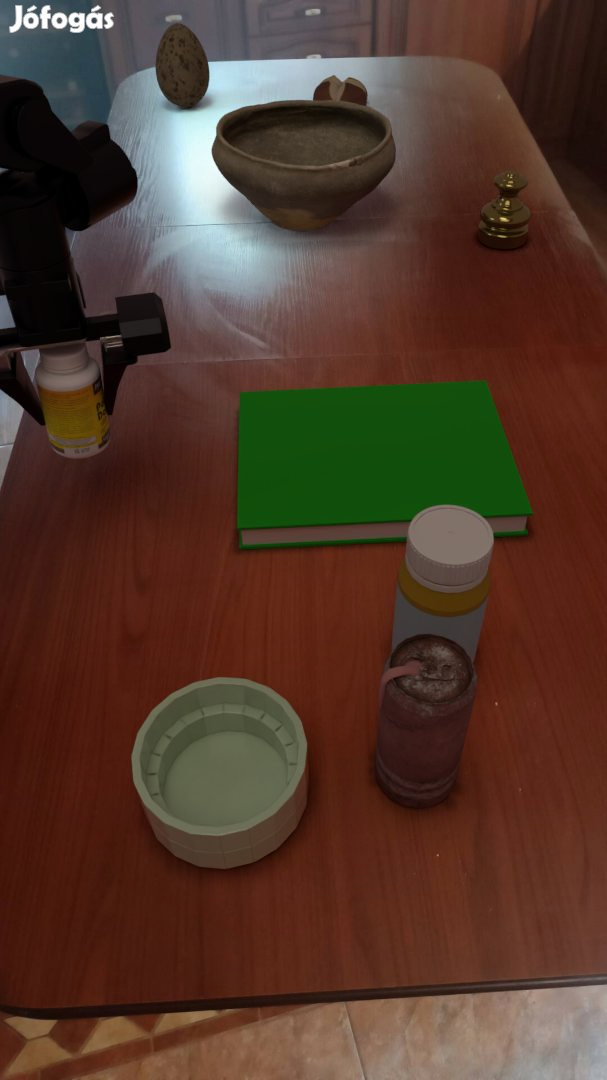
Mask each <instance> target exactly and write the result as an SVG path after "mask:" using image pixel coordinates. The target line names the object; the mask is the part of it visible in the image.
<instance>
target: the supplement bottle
mask: <svg viewBox="0 0 607 1080" xmlns="http://www.w3.org/2000/svg"><path fill="white" fill-rule="evenodd" d="M38 353H39V360H40V362H39V363H38V364H37V366H36V367H35V369H34V381H35V384H36V388H37V392H38V393H37V394H38V397H39V400H40V402H41V406H42V410H43V415H44V419H45V423H46V425H45V428H46V431H47V436H48V440H49V444H50V447H51V448H52V450H53V451H54V452H55V453H56V454H58V455H59V456H61V457H64V458H67V459H76V460H77V459H80V460H81V459H86V458H90V457H93V456H96V455H98V454H101V452H103V451H104V450H105V449H106V448H107V447H108V446H109V444H110V442H111V439H112V438H111V429H110V427H111V426H110V423H109V416H108V414H107V410H106V407H105V397H104V386H103V378H102V373H101V372H102V371H101V369H100V365H99V362H97V360H96V359H95V358H93V357H92V356H90V355H89V350H88V348H87V342H85V343H78V344H71V345H64V346H56V347H49V348H42V349H38Z"/></svg>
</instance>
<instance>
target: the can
mask: <svg viewBox="0 0 607 1080" xmlns="http://www.w3.org/2000/svg"><path fill="white" fill-rule="evenodd" d="M478 681H479V677H478V673H477V669H476V665H475V664H474V662H473V663H472V659H471V658H470V656H469V655H468V653H467V652H466V650H465V649H464V648H463V647H462V646H460V645H459V644H458V643H457V642H455V641H454V640H451V639H449V638H447V637H445V636H442V635H436V634H431V633H430V634H417V635H414V636H411V637H408V638H406V639H404V640H403V641H402V642H400V643H399V644H398V645H397V646H396V647H395V648H394V649H393V650H392V649H391V650H390V652H389V653H388V654H387V656H386V658H385V660H384V662H383V666H382V671H381V678H380V682H379V689H378V702H379V703H378V704H379V707H378V720H377V732H376V745H375V759H374V772H375V779H376V781H377V782H378V785H379V787H380V789H381V790H382V791H383V792H384V793H385V794H386V795H387V797H389V798H390V799H391V800H393V801H395V802H396V803H398V804H400V805H401V806H404V807H410V808H414V809H419V808H420V809H421V808H430V807H432V806H435V805H437V804H440V803H441V802H442V801H444V800H445V799H446V798H447V797H448V796H449V795H450V794H451V793H452V790H453V789H454V786H455V785H456V781H457V775H458V771H459V769H460V768H459V767H460V763H461V759H462V754H463V750H464V746H465V742H466V737H467V733H468V729H469V725H470V721H471V716H472V712H473V708H474V704H475V699H476V695H477V691H478V690H477V689H478Z"/></svg>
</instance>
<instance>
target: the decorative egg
mask: <svg viewBox="0 0 607 1080" xmlns="http://www.w3.org/2000/svg"><path fill="white" fill-rule="evenodd" d="M154 66H155V76H156V82H157V85H158V88H159V90H160V92H161V93H162V95H163V96H164V97H165V99H166V100H167V101H168V102H169V103H171V104H172V105H174V106H176V107H179V108H181V109H188V108H193V107H195V106H197V105H198V104H199V103H201V101H202V100H203V98H204V97H205V95H206V94H207V91H208V88H209V86H210V85H209V84H210V77H211V76H210V75H211V73H210V65H209V61H208V57H207V54H206V52H205V49H204V47H203V45H202V43H201V42H200V40H199V38H198V37H197V36H196V34H195V33H194V32H193V30H192V29H190V27H188V26H186V25H185V24H183V23H179V22H176V23H172V24H171V25H169V26H168V27H167V28H166V29H165V30H164V33H163V34H162V36H161V38H160V40H159V42H158V46H157V50H156V55H155V65H154Z"/></svg>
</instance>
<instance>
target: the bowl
mask: <svg viewBox="0 0 607 1080" xmlns="http://www.w3.org/2000/svg"><path fill="white" fill-rule="evenodd" d="M396 147H397V146H396V143H395V139H394V135H393V126H392V124H391V121H390V119H389V118H388V117H387V116H386V115H385V114H383V113H382V112H380V111H379V110H377V109H375V108H372V107H370V106H366V105H365V106H362V105H358V104H355V103H351V102H345V101H337V100H326V101H318V100H316V101H313V99H312V100H311V99H286V100H275V101H270V102H266V103H259V104H252V105H245V106H242V107H240V108H237V109H234V110H232V111H229V112H227V113H225V114H223V116H221V117H220V118H219V120H218V122H217V124H216V127H215V137H214V140H213V143H212V145H211V155H212V156H211V157H212V160H213V162H214V164H215V166H216V168H217V170H218V171H219V173H220V174H221V175H222V177H223V178H224V179H225V180H226V181H227V182H228V183H229V185H230V186H232V187H233V188H234V189H235V190H236V191H237V192H239V193H240V194H241V195H243V197H245V198H246V200H247V201H248V202H249V203H250V204H251V205H252V206H253V207H254V208H255V209H256V210H257V211H258V212H259V213H260V214H262V215H263V216H264V217H265V218H267V219H268V220H269V221H270V222H271V223H272V224H273V225H274V226H277V227H279V228H281V229H283V230H290V231H301V232H310V231H315V230H319V229H320V230H321V229H322V228H324V227H326V226H327V225H329V224H331V223H332V222H335V220H337V219H338V218H339V217H341V216H342V215H343V214H345V213H346V212H347V211H349V210H350V209H351V208H352V207H353V206H354V205H355V204H356V203H358V202H359V201H361V200H362V199H364V198H365V197H368V195H369V194H371V193H372V192H373V191H375V189H377V187H378V186H379V185H380V184H382V182H383V180H384V179H385V178H386V177H387V176H388V175H389V173H390V172H391V171H392V169H393V168H394V166H395V162H396V156H397V154H396V153H397V148H396Z"/></svg>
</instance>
